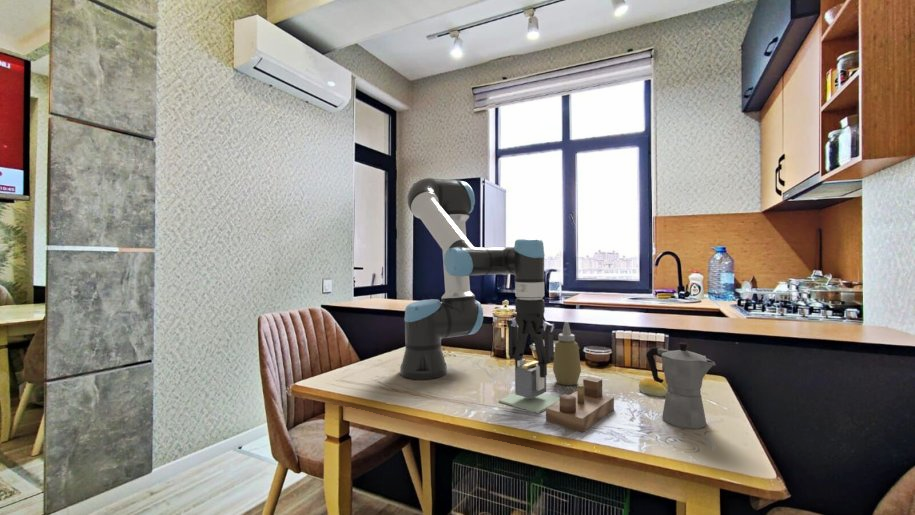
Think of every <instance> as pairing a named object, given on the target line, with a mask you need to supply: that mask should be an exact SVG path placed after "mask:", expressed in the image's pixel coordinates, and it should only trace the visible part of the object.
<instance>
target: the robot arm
mask: <svg viewBox="0 0 915 515" xmlns="http://www.w3.org/2000/svg"><path fill="white" fill-rule="evenodd" d="M406 197H407V200H406V201H407V206H408V208H409V211H410V212H411V214H412V215H413V216H414V217H415V218H417V219H420V220H421V221H422V223H423V225H424V226H425V228H426V229H427V230H428V231H429V233H430V234H431V236H432V238H433V239H434V240H435V241H436V243H437V244H438V246H439V247H440V249H441V250H442V260H443V261H442V262H443V276H444V294H443V295H442V296H441V301H440V299H434V298H430V299H422V300H416V301H413V302H410V303H409V304H408V305H406V307H405V309H404V310H405V311H404V319H403V320H404V336H405V337H404V338H405V339H404V340H405V341H404V342H405V345H404V346H405V349H404V353H403V354H404V355H403V358H402V360H401V361H402V362H401V365H400V369H399V370H400V376H401V377H403V378H406V379H410V380H421V381H422V380H431V379H438V378H442V377H443V376H444V375H446V374H447V373H448V367H447V366H448V364H447V362H446V361H445V356H444V353H443V350H442V339H448V338H453V337H454V338H455V337H467V336H468V335H474V334H476V333H478V331H479V330H480V328H481V327H482V325H483V321H484V309H483V307H482V304H481V302H480V301H478V300H476V296H475V294H474V293H473V292H472V290H471V285H470V282H471V281H470V277H471V276H488V275H489V276H490V275H514V277H515V278H514V282H515V284H514V286H515V288H514V289H515V291H514V292H515V293H514V294H515V297H516V299H515V303H514V304H515V306H514V307H515V308H514V309H515V313H516V315H515V318H511V319H507V320H506V325H507V328H508V338H507V339H508V342H507V345H508V356H509V357H510V358H513V359H514V362H515V363H514V366H515V367H518V366H521V365H523V364H526V363H527V362H526V359H525V356H524V352H525V348H526V344H527V340H528V336H529V335H530V336H531V339H533V343H534V348H535V353H536V357H537V358H536V359H537V361H538V362H539V363H538V364H537V365H536V390H538V391H539V390H541V389H543V388H544V377H546V378H547V375H548V364H551V363H554V353H555V344H554V332H555V328H556V324H555V323H550V322H547V320H546V318H545V313H546V312H545V311H546V310H545V306H546V304H545V299H544V297H545V255H546V254H545V250H544V248H545V247H544V241H543V240H542V239H540V238H520V239H516V240H514V246H513V247H510V246H507V247H506V246H498V247H494V246H493V247H492V246H491V247H480V246H479V247H476V246H474V245H473V244H472V242H470V240H469V239H468V238H467V228H466V222H467V221H468V219H470V214H471V213H472V212H473V210H474V209H475V208H474V206H475V204H476V200H475V199H476V198H475V197H476V196H475V192H474V190H473V188H472V187H471V185H470V184H469V183H468V182H466V181H463V180H459V179H442V178H433V177H428V178H421V179H419V180H417V181H416V182H415V183H414V184H413V185H412V186H411V187H410V189H409V190H408V193H407V196H406ZM518 327H519V328H518ZM542 329H543V330H542ZM543 331H544V334H543ZM543 337H544V338H543ZM515 367H514V368H515Z"/></svg>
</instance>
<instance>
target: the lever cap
mask: <svg viewBox="0 0 915 515" xmlns="http://www.w3.org/2000/svg"><path fill="white" fill-rule="evenodd" d="M538 363H539V362H538V360H532V361H530V362H526V364H523V365H521V366H518V367H514V379H515V380H514V384H515V385H514V389H515V390H514V393H515V394H516V395H519V396H523V397H526V398H530V399H533V398H535V397H537V396H539V395H541V394H543V393H545V394H546V393H547V376H546V377H544V388H543V389H541V390H539V391H538V390H536V365H537V364H538Z"/></svg>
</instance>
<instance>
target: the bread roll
mask: <svg viewBox="0 0 915 515" xmlns="http://www.w3.org/2000/svg"><path fill="white" fill-rule="evenodd" d="M658 377H659V378H660V379H663V382H662V383H659V382H656V381H655V380H654V379H653V378H649V377H646V378H643V379H641V380H640V381H639V383H638V388H639V391H640V392H642V393H643V394H646V395H648V396H649V395H650V396H652V397H653V396H655V397H666V392H667V383H666V380H665V376H658Z"/></svg>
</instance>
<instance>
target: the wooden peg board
mask: <svg viewBox="0 0 915 515" xmlns="http://www.w3.org/2000/svg"><path fill="white" fill-rule="evenodd" d="M582 379H583V378H582ZM582 382H583V383H582V384H576V385H577V387H576V388H577V390H576V391H574V392H572V393H571V394H561V395H559V397H560V401H558V402H556V403H554V404H552V405H551V406H549V407H547V408H546V410H545V422H548V423H552V424H554V425H556V426H560V427H563V428H567V429H571V430H574V431H577V432H580V433H584V432H585V431H586V430H588V429H589V428H591V427H592V426H594V425H595V424H596V423H598V422H599V421H600V420H602V419H603V418H604V417H605V416H607V415H608V414H610V413H611V412H612V411H614V410H615V397H614V396H610V395H605V394H603V379H602V378H597V377H592V376H587V377H585V378H584V379H583V381H582Z"/></svg>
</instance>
